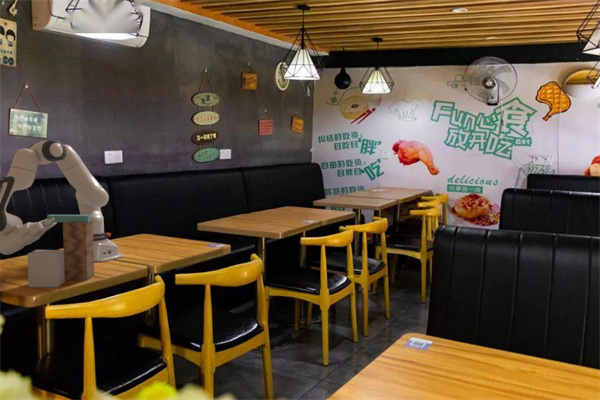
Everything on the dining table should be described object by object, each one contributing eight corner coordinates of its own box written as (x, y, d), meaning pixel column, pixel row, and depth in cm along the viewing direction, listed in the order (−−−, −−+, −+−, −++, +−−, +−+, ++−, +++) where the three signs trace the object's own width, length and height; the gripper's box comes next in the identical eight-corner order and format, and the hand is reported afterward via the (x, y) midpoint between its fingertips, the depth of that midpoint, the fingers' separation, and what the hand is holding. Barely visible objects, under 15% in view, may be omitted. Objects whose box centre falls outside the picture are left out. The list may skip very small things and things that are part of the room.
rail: (47, 222, 251) (47, 215, 251) (50, 221, 255) (50, 214, 255) (88, 222, 252) (88, 215, 252) (90, 221, 256) (90, 214, 256)
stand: (64, 280, 252) (62, 223, 249) (72, 275, 261) (70, 220, 259) (87, 280, 252) (85, 223, 249) (94, 275, 262) (92, 220, 259)
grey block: (28, 287, 239) (27, 254, 238) (37, 281, 248) (36, 249, 247) (57, 287, 240) (56, 254, 239) (64, 281, 249) (63, 249, 248)
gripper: (16, 230, 242) (44, 214, 242) (35, 223, 263) (61, 208, 263) (24, 242, 243) (52, 227, 243) (43, 234, 264) (68, 220, 264)
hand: (57, 217), depth 253 cm, fingers closed on rail, 3 cm apart
